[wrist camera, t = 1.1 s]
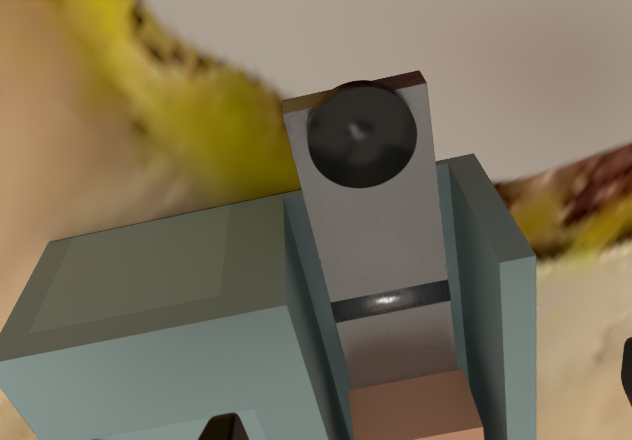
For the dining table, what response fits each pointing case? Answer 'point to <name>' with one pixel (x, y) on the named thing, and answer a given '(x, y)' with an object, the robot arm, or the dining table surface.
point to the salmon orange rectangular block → (417, 409)
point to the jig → (251, 323)
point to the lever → (377, 224)
